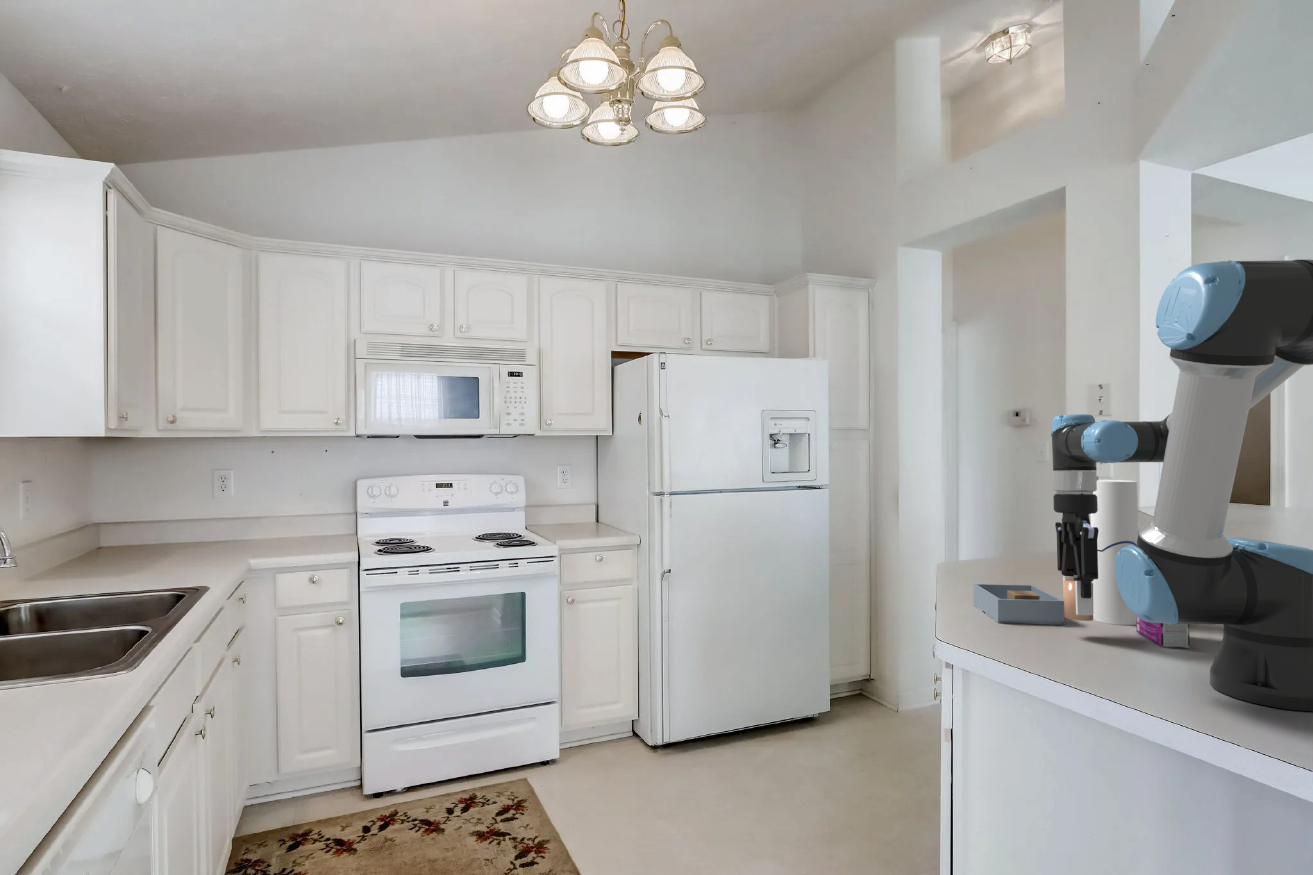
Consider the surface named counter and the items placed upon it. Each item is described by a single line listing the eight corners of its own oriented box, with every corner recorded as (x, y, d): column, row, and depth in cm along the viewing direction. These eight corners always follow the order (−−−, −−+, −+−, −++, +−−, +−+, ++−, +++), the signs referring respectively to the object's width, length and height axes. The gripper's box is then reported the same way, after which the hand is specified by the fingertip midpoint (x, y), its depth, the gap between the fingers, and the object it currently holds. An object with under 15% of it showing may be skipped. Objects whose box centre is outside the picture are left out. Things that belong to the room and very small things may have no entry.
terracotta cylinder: (1099, 620, 140) (1099, 583, 140) (1078, 621, 138) (1078, 584, 139) (1078, 615, 144) (1078, 579, 145) (1057, 615, 143) (1057, 580, 144)
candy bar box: (1134, 632, 145) (1133, 550, 145) (1161, 633, 144) (1161, 551, 144) (1161, 648, 134) (1160, 559, 134) (1191, 649, 133) (1190, 560, 133)
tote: (1064, 624, 151) (1064, 601, 151) (998, 623, 153) (998, 599, 153) (1032, 606, 168) (1032, 585, 168) (973, 605, 170) (973, 583, 170)
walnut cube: (1031, 613, 159) (1031, 591, 159) (1039, 619, 154) (1039, 595, 154) (1007, 613, 159) (1007, 590, 160) (1014, 618, 155) (1014, 595, 155)
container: (1148, 625, 151) (1146, 481, 151) (1106, 625, 151) (1105, 481, 151) (1122, 615, 159) (1121, 479, 160) (1083, 615, 160) (1082, 479, 160)
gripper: (1118, 494, 133) (1121, 622, 132) (1075, 491, 151) (1078, 603, 150) (1074, 494, 134) (1077, 620, 133) (1037, 491, 152) (1039, 603, 151)
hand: (1078, 611), depth 141 cm, fingers closed on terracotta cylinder, 5 cm apart
